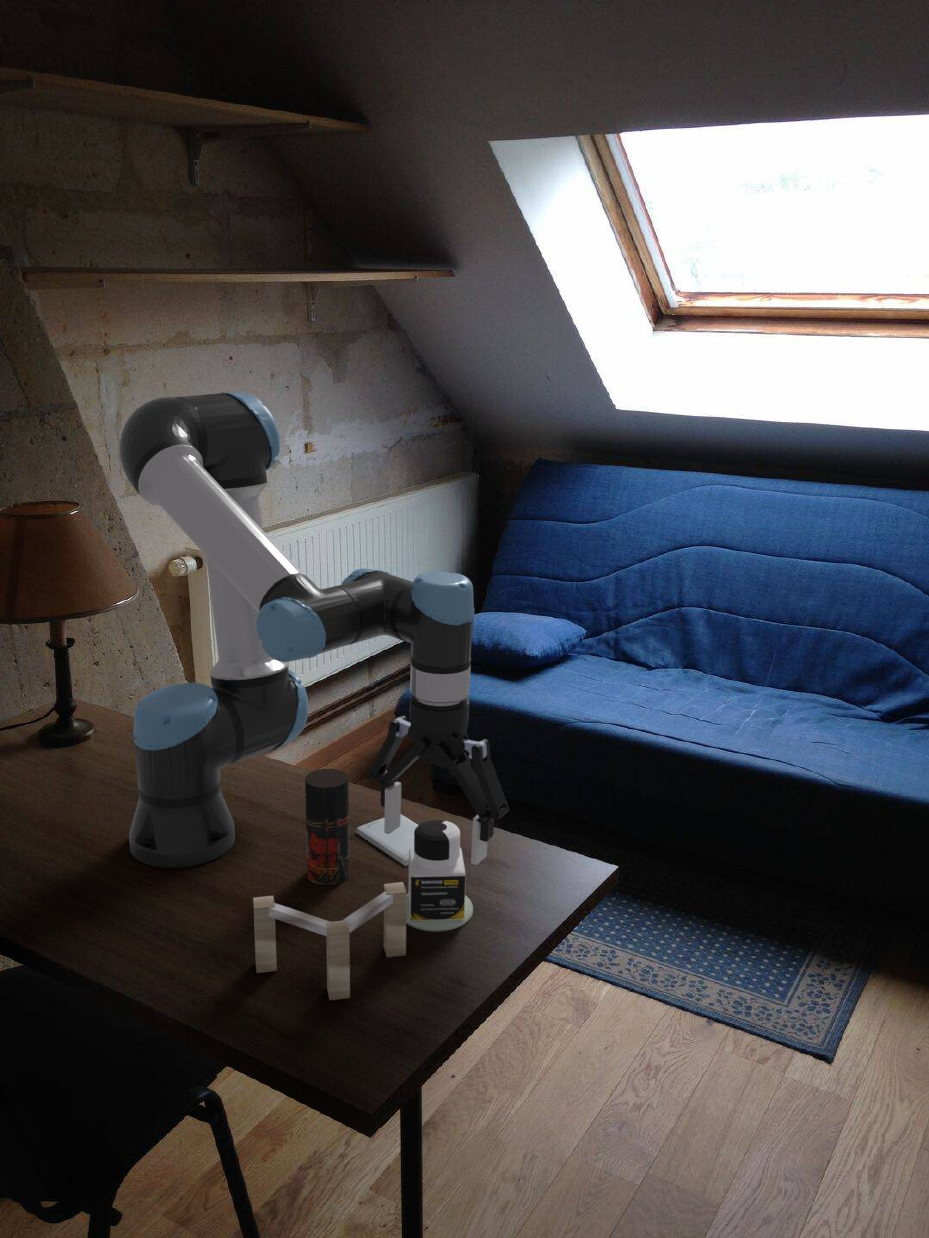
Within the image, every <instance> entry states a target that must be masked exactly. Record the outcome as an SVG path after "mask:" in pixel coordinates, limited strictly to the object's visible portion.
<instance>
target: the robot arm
mask: <svg viewBox="0 0 929 1238" xmlns="http://www.w3.org/2000/svg"><path fill="white" fill-rule="evenodd" d="M280 450H281V439H280V433H279V429H278V425H277V424H276V421H275V419H274V416H273V415H272V413H271V412H270V410H269V409H268V407H267V406H265V405H264V403H263V401H261V400H260V399H259V398H257V397H256V396H254V395H251V394H249V393H244V392H224V391H223V392H222V391H221V392H219V393H218V392H217V393H208V394H198V395H197V394H196V395H183V396H182V395H181V396H176V397H175V396H166V397H159V398H155V399H151V400H149V401H147V402H144V403H143V404H141V405H140V406H139V407H137V409H136V410H135V411H133V412H132V414H131V415H130V416H129V417H128V419H127V420H126V422H125V424H124V425H123V429H122V431H121V434H120V440H119V460H120V463H121V466H122V467H121V468H122V470H123V472H124V474H125V477H126V478H127V480H128V482H129V483H130V485H131V487H132V488H133V489H134V490H135V491H136V493H138V495H140V497H141V498H142V499H143V500H144V501H145V502H146V503H148V504H150V505H152V506H153V505H154V506H159V507H161V509H162V510H164V512H165V513H166V514H167V515H168V516H169V518H171V520H172V521H173V522H175V523H176V524H177V525H178V527H179V528H180V530H181V531H183V532H184V534H186V536H187V537H188V538H189V540H191V541H192V542H193V543H194V545H195V546H196V547H197V548H198V549H199V550H200V551H201V552H202V553H203V554H204V556H205V560H206V570H207V575H208V585H209V592H210V601H211V608H212V616H213V624H214V631H215V642H216V649H217V656H218V660H217V662H216V663H215V664H214V666H213V667H212V668H211V670H210V671H209V677H210V681H211V683H210V684H211V686H209V685H207V684H204V683H201V682H199V683H198V682H185V683H183V684H179V683H175V684H170V685H167V686H163V687H160V688H159V689H158V688H157V689H156V690H154V691H152V692H150V693H149V694H147V695H145V696H144V697H143V698H142V699H141V700H140V701H139V702H138V704H137V705H136V708H135V710H134V714H133V730H132V739H133V742H134V748H135V761H136V763H135V765H136V775H137V777H136V778H137V787H138V788H137V789H138V801H137V805H136V808H135V812H134V815H133V819H132V822H131V825H130V829H129V835H128V836H129V837H128V838H129V839H128V840H129V851H130V854H131V855H132V856H133V857H134V858H135V859H136V860H137V861H138V862H140V863H142V864H145V865H148V866H151V867H156V868H163V869H164V868H165V869H181V868H183V869H184V868H189V867H190V868H191V867H195V866H199V865H203V864H207V863H209V862H213V861H215V860H216V859H218V858H220V857H222V856H223V855H225V854H226V853H228V851H229V850H231V848H232V847H233V845H234V844H235V841H236V833H235V831H236V830H235V829H236V828H235V823H234V820H233V817H232V815H231V812H230V810H229V807H228V805H227V802H226V800H225V798H224V796H223V793H222V790H221V789H222V788H221V769H223V768H225V767H228V766H231V765H234V764H237V763H239V762H241V761H245V760H248V759H250V758H253V757H256V756H258V755H261V754H262V755H263V754H264V753H268V752H273V751H275V750H278V749H280V748H281V747H282V746H284V745H287V744H289V743H292V742H293V741H295V739H296V740H297V738H298V737H299V735H300V734H301V733H302V732H303V730H304V729H305V727H306V724H307V721H308V716H309V715H308V714H309V700H308V699H309V698H308V694H307V691H306V687H305V686H304V685H301V684H302V680H301V678H300V676H298V675H297V673H295V672H294V671H293V670H291V669H289V665H288V662H294V661H300V660H304V659H311V658H314V657H316V656H317V655H320V654H324V653H326V652H330V651H333V650H337V649H339V648H342V647H347V646H349V645H354V644H358V643H360V642H364V641H367V640H371V639H373V638H377V637H381V636H389V637H391V638H394V639H397V640H400V641H403V642H406V643H410V673H409V674H410V675H409V676H410V680H409V681H410V682H409V692H410V694H411V695H410V697H409V719H407V717H406V716H405V715H400V716H399V717H396V718H395V719H394V720H391V721H390V722H389V723H388V730H387V731H388V733H387V736H386V738H385V739H384V742H383V744H382V746H381V747H380V750H379V751H378V753H377V755H376V756H375V758H374V760H373V762H372V764H371V766H370V768H369V770H368V771H367V777H368V778H369V779H371V780H376V782H378V784H379V786H380V800H379V801H380V805H381V807H382V808H384V817H385V819H384V833H386V834H390V833H391V832H393V831H394V830H396V829H397V828H399V827H400V819H401V815H402V814H401V813H402V811H401V810H402V808H401V807H402V783H401V781H396V780H398V779H399V777H400V776H401V775H402V774H404V773H405V771H406V770H408V769H409V768H410V767H411V766H412V765H413V764H414V763H415V762H416V761H418V759H419V758H420V759H421V760H422V762H423V763H425V764H434V765H435V766H437V767H439V768H442V769H444V768H446V769H447V771H448V772H449V774H450V775H451V776H453V777H454V778H455V779H456V781H457V783H458V784H459V786H460V788H461V790H462V791H463V793H464V794H465V796H466V798H467V799H468V801H469V803H470V804H471V807H473V809H474V811H475V812H476V816H474V817H473V818H472V834H471V835H472V837H471V854H470V855H471V856H470V864H471V865H475V866H477V865H479V864H480V863H481V862H482V861H483V860H485V859H486V858H487V855H488V841H490V840H491V839H492V838H493V836H494V830H495V827H494V826H495V821H498V820H500V818H503V816H504V815H505V814H507V813H509V811H510V806H509V804H508V801H507V799H506V796H505V794H504V789H503V788H502V785H501V782H500V779H499V777H498V774H497V772H496V768H495V766H494V763H493V761H492V758H491V751H490V749H491V748H490V746H491V745H490V741H488V739H487V738H486V739H485V738H483V739H482V740H480V741H476V740H471V739H469V737H468V733H467V730H468V725H469V720H470V719H469V718H470V715H469V714H470V698H469V697H468V696H469V695H470V686H471V663H472V656H471V655H472V639H473V630H474V629H473V627H474V626H473V625H474V618H475V606H474V604H475V603H474V586H473V583H472V581H471V580H470V578H468V577H467V576H465V575H463V574H460V573H457V572H447V571H443V570H442V571H435V570H434V571H428V572H422V573H420V574H419V575H417V576H416V577H415V578H414V579H413V581H412V580H408V579H406V578H402V577H399V576H397V575H394V574H393V575H392V574H390V572H388V571H383V570H380V569H371V568H359V569H356V570H354V571H352V572H351V573H350V574H349V575H348V576H347V577H346V578H344V579H343V581H342V583H341V584H338V585H335V586H331V587H326V588H319V587H318V586H317V585H316V583H314V582H313V580H311V579H310V578H309V577H308V576H307V575H306V574H305V572H303V571H302V570H301V568H299V567H298V565H297V564H296V563H295V562H294V561H293V560H292V559H291V558H290V557H289V556H288V555H287V554H286V553H285V552H284V551H283V550H282V549H281V548H280V547H279V546H278V545H277V544H276V542H274V540H273V539H272V538H271V537H270V536H269V535H268V533H266V532H265V531H264V530H263V527H262V526H263V525H262V517H261V516H262V515H261V510H260V508H261V507H260V499H259V497H260V495H261V494H262V491H264V490H265V488H266V487H267V486H268V478H267V477H268V476H267V471H268V470H270V469H271V468H272V467H273V466H274V465H275V464H276V463H277V460H278V458H277V457H278V456H279V455H280ZM408 720H409V721H408ZM407 735H408V737H409V739H410V741H411V743H412V745H413V746H412V747H411V748H410V749H409V750H408V751H407V752H406V753H404V755H403V757H401V758H400V759H399V760H398V761H397V762H396V763H395V764H394V765H393V766H392V767H391V768H390V769H389V770H387V769H388V767H389V765H390V763H391V762H392V760H393V758H394V756H395V754H396V753H397V750H398V749H399V747H400V745H401V743H402V741H403V739H405V736H407ZM466 751H467V752H468V754H467V752H466ZM457 761H459V763H458V764H456V762H457ZM471 764H472V765H471Z"/></svg>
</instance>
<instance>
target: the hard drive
mask: <svg viewBox="0 0 929 1238" xmlns="http://www.w3.org/2000/svg"><path fill="white" fill-rule="evenodd" d="M384 819H385V816H384V817H382V818H379V819H376V820H373V821H371V822H368V823H365V824H362V825H360V826H358V827H357V828H356V832H355V833H356V834H357V835H358V834H359V835H358V836H360V837H362V838H363V839H365V841H367V840H368V841H367V842H369V843H370V844H372V845H373V846H375V847H376V848H378V849H379V850H381V851H382V852H384V853H385V854H387V855H388V856H389V857H391V858H393V859H394V860H395V861H396V862H398V863H400V864H401V865H403V866H404V867H407V866H408V867H409V849H410V848H414V831H415V829H416V827H417V826H418V825H419V824H417V823H416V822H414V821H413V820H411V819H410V818H408V817H406V816H404V815H403V814H401V819H400V827H399V828H397V829H396V830H394V831H393V832H391V833H390V834H386V833H384Z"/></svg>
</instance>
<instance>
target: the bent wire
mask: <svg viewBox="0 0 929 1238" xmlns="http://www.w3.org/2000/svg"><path fill="white" fill-rule="evenodd" d="M406 895H407V890H406V887H405V884H404V882H403V881H399V882H392V883H391V882H390V883H384V884H383V892H382V893H381V894H379V895H377V896H376V897H374V898H373V899H372V900H370V901H368V902H367V903H366V904H364V905H363V906H361V907H360V908H358V909H357V910H355V911H354V912H352V913H351V914H349V915H348V916H346V917H345V918H344V919H342V920H336V921H329V920H327V919H323V918H321V917H317V916H315V915H313V914H309V913H306V912H303V911H299V910H297V909H293V908H291V907H288V906H285V905H282V904H280V903H279V904H278V903H276V902H275V899H274V895H266V896H257V897H252V899H253V900H252V904H253V925H254V927H253V928H254V949H255V951H254V953H255V956H254V957H255V968H256V974H260V973H269V972H270V973H271V972H277V971H278V969H277V967H278V966H277V939H276V938H277V937H276V936H277V935H276V920H278V921H280V922H283V923H285V924H286V923H287V924H290V925H291V926H296V927H298V928H301V929H305V930H307V931H310V932H312V933H315V934H318V935H322V936H324V937H326V939H325V940H326V941H325V942H326V945H325V947H326V986H327V987H326V989H327V994H328V999H329V1001H336V1000H345V999H351V987H350V986H351V982H350V981H351V979H350V978H351V975H350V974H351V972H350V971H351V967H350V966H351V964H350V963H351V960H350V959H351V958H350V954H351V953H350V947H351V946H350V945H351V944H350V933H352V932H354V931H355V930H356V929H357V928H360V927H361V926H363V924H365V923H367V922H368V921H369V920H370V919H372V918H373V917H375V916H376V915H378V914H379V913H381V912H382V911H383V949H384V952H385V956H386V958H393V957H394V958H395V957H402V956H406V955H407V923H406Z"/></svg>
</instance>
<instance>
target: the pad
mask: <svg viewBox="0 0 929 1238" xmlns="http://www.w3.org/2000/svg"><path fill="white" fill-rule="evenodd" d="M473 914H474V906H473V902H472V900H471V899H470V898H469V897H468V896H467V895H465V916H464V920H457V921H419V922H412V921H411V920H410V908H409V893H408V892H407V893H406V925H408V926H410V927H412V928H413V929H417V930H421V931H425V932H435V933H437V932H439V933H440V932H447V931H452V930H454V929H459V928H460V927H462V926H464V925H465V924H467V923H468V922H469V921H470V920H471V918H472V917H473Z"/></svg>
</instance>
